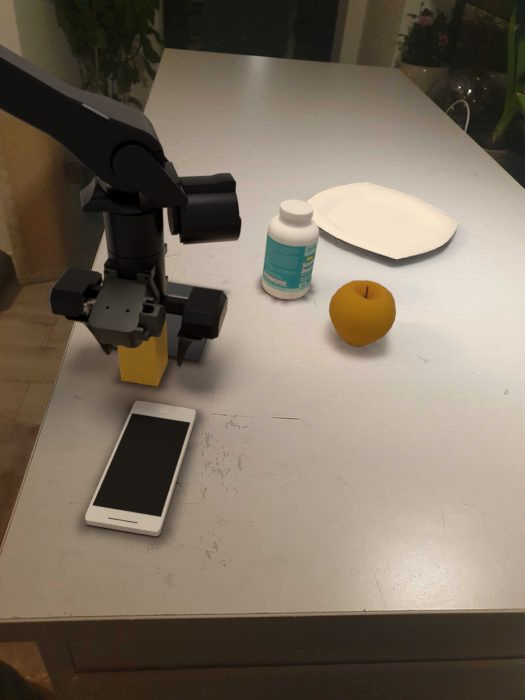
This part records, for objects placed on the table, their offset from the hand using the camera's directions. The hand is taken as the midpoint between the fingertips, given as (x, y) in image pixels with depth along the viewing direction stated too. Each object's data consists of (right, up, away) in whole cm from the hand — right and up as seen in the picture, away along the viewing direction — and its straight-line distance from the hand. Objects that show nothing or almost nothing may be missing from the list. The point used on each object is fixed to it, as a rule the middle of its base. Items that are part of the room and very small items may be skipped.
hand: (144, 358), depth 64 cm
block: (0, -2, +1) cm, 2 cm away
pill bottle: (+18, +11, +18) cm, 28 cm away
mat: (+1, +5, +10) cm, 11 cm away
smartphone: (+2, -11, -9) cm, 14 cm away
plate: (+36, +25, +37) cm, 58 cm away
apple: (+27, +2, +10) cm, 29 cm away
